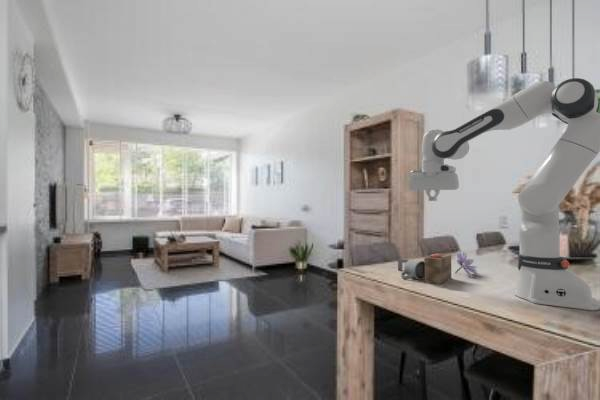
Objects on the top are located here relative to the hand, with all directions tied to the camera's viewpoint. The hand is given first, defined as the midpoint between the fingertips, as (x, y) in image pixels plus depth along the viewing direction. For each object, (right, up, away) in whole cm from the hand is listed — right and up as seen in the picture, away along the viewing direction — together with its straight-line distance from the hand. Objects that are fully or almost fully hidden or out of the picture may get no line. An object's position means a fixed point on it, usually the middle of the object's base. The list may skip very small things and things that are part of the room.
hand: (432, 200), depth 139 cm
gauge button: (-2, -28, -7) cm, 29 cm away
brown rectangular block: (0, -33, -5) cm, 33 cm away
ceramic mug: (-8, -33, -1) cm, 34 cm away
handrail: (-3, -33, +9) cm, 34 cm away
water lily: (+17, -33, +4) cm, 38 cm away
